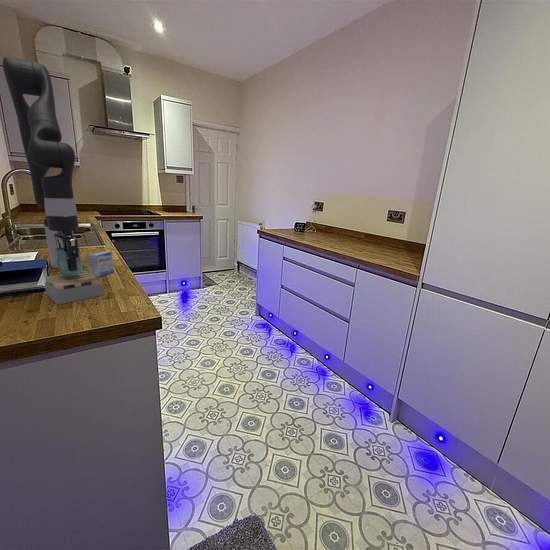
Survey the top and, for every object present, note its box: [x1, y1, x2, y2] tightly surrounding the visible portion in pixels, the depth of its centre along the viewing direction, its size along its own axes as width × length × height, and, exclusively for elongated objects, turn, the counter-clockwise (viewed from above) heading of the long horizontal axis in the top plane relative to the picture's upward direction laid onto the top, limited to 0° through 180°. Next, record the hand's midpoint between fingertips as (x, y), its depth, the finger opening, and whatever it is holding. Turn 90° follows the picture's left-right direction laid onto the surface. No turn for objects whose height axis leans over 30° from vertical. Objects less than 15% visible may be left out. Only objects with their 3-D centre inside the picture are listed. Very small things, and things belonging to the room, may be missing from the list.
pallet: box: [45, 270, 98, 291], centre depth 91 cm, size 11×11×2 cm
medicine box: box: [87, 250, 115, 278], centre depth 114 cm, size 8×4×9 cm, turn 168°
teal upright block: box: [55, 247, 83, 276], centre depth 89 cm, size 5×5×8 cm
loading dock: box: [44, 281, 103, 306], centre depth 92 cm, size 12×12×4 cm
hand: (70, 268), depth 90 cm, fingers closed on teal upright block, 5 cm apart
